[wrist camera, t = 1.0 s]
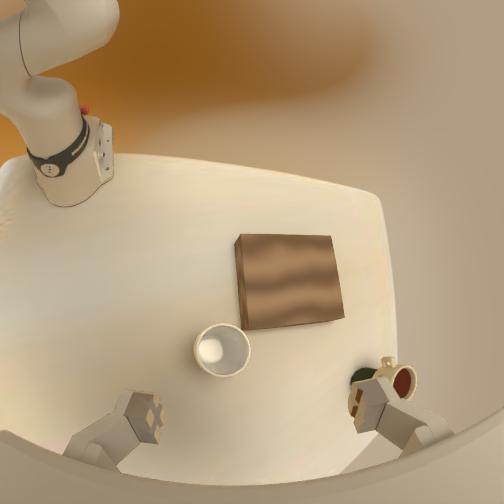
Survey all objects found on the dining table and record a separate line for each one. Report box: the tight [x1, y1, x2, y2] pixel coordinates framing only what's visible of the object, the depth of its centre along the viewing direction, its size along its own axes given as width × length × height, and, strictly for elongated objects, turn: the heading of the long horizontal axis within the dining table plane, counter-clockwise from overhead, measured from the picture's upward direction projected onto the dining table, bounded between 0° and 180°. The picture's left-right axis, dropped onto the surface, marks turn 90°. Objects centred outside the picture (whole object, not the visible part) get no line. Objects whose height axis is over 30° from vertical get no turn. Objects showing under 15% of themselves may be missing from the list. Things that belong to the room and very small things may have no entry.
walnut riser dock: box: [235, 234, 345, 330], centre depth 50 cm, size 16×18×5 cm
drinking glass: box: [193, 323, 251, 377], centre depth 38 cm, size 7×7×15 cm
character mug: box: [351, 357, 417, 401], centre depth 44 cm, size 11×7×13 cm, turn 14°
